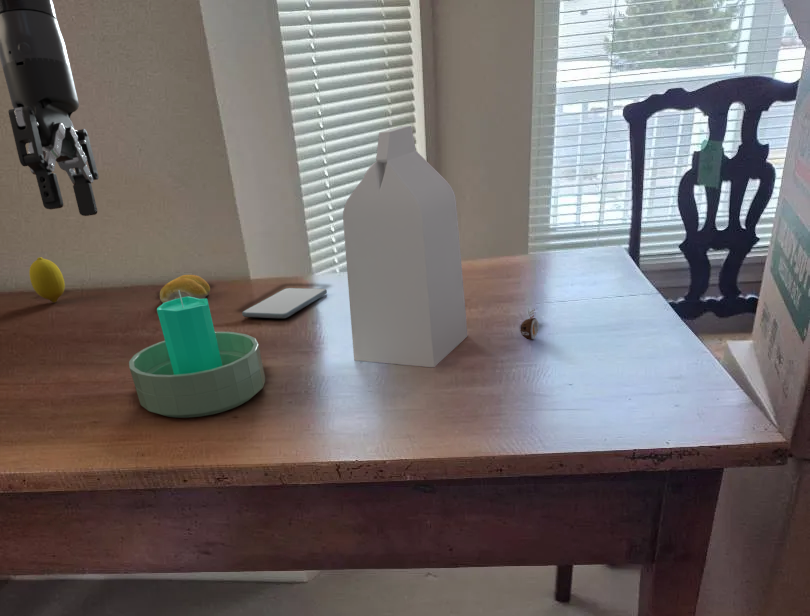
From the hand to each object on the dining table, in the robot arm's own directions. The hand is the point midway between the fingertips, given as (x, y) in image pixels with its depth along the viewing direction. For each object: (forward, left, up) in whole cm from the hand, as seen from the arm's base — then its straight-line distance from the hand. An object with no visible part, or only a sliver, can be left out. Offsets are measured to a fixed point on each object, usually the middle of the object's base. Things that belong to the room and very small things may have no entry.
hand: (72, 211), depth 92 cm
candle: (-3, -21, -19) cm, 29 cm away
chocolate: (+30, -49, -20) cm, 61 cm away
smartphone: (+30, -5, -20) cm, 36 cm away
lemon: (+17, +41, -20) cm, 48 cm away
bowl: (-3, -21, -20) cm, 29 cm away
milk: (+21, -36, -20) cm, 46 cm away
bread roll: (+27, +16, -20) cm, 37 cm away
